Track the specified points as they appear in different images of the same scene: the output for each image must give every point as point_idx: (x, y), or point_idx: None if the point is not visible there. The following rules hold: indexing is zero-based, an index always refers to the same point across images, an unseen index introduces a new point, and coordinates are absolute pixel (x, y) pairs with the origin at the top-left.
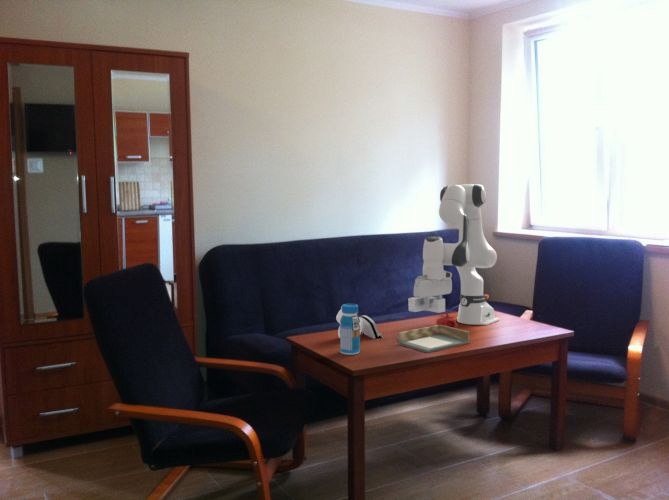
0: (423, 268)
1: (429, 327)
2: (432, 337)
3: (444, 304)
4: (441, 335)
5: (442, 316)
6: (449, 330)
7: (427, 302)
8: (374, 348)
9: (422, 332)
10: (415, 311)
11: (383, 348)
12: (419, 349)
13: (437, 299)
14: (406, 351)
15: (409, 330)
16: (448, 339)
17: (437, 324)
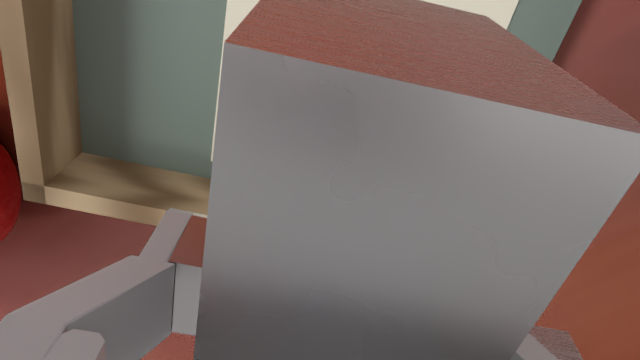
0: None
1: (167, 209)
2: (213, 133)
3: (296, 2)
4: (107, 115)
5: None
6: (46, 68)
7: (532, 358)
8: (625, 278)
9: None
10: (565, 336)
11: (604, 245)
12: (552, 45)
13: (552, 224)
14: (620, 103)
15: None
16: (163, 3)
17: (2, 228)
